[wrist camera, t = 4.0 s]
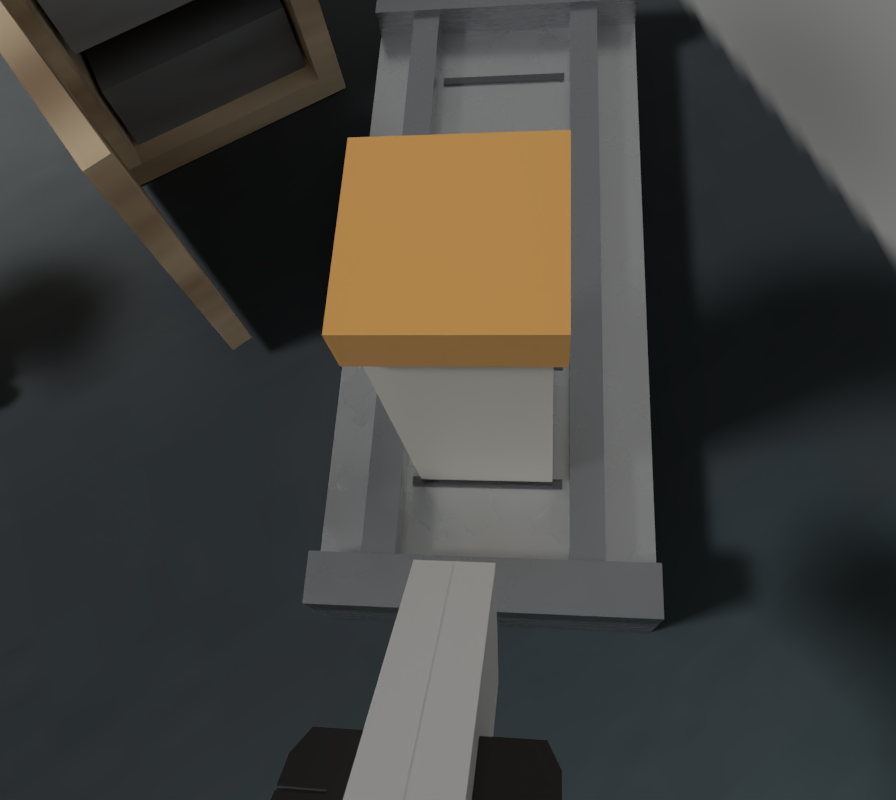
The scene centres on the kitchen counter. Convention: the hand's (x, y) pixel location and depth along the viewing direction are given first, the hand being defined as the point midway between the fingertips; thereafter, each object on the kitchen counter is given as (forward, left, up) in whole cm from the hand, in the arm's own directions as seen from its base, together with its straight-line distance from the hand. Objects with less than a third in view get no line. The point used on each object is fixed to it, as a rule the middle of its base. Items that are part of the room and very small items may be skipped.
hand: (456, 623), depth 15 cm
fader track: (-12, +6, -11) cm, 17 cm away
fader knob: (-6, +3, -8) cm, 11 cm away
